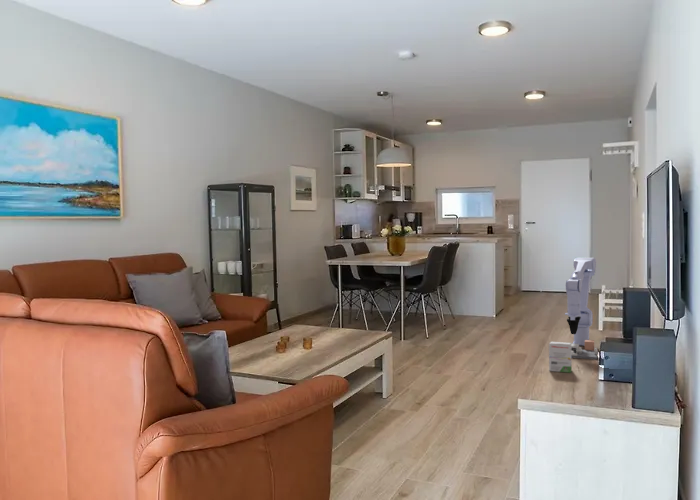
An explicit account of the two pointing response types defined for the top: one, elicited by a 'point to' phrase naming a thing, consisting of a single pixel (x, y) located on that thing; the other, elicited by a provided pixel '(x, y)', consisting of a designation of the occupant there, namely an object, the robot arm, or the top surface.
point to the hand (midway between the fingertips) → (573, 332)
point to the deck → (584, 353)
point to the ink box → (560, 357)
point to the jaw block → (589, 344)
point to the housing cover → (575, 347)
